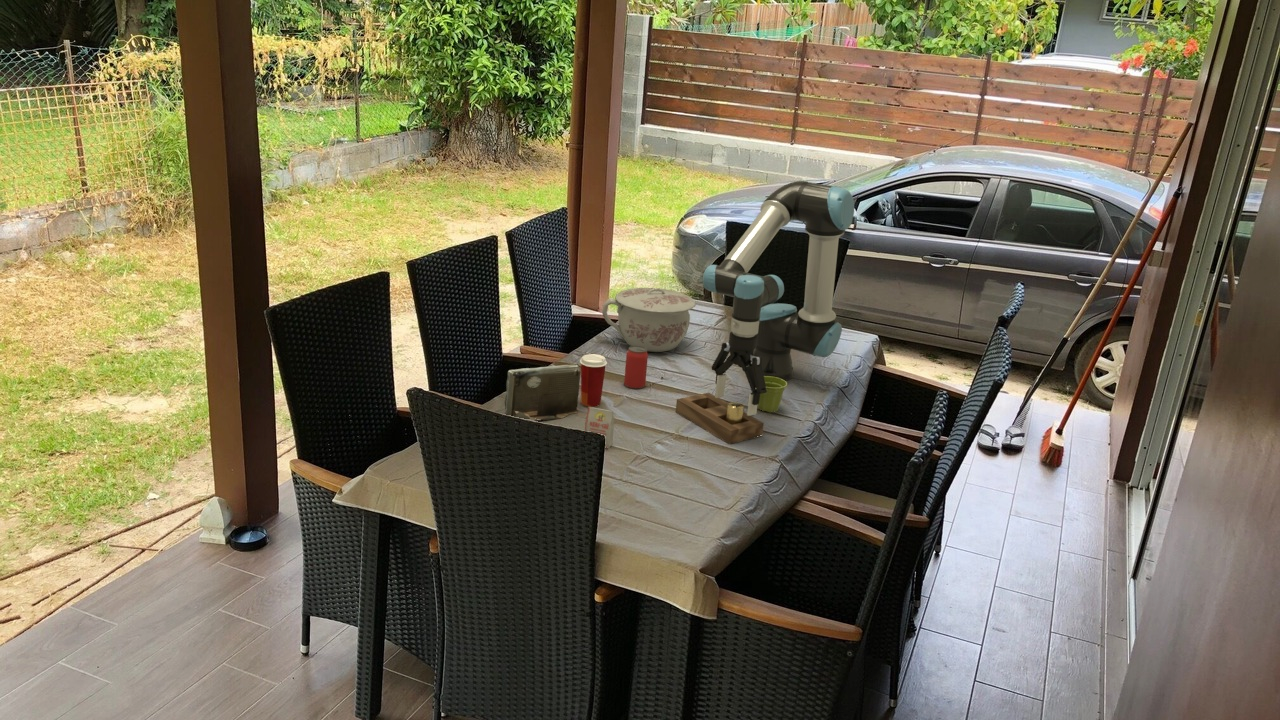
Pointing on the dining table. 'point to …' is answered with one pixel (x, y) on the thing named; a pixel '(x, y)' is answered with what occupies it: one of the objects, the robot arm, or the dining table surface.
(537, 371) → the radio
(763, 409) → the plant pot
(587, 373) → the paper cup
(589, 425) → the tea bag
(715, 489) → the dining table surface
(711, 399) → the frame
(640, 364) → the beer can
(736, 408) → the brass bushing
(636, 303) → the chamber pot
